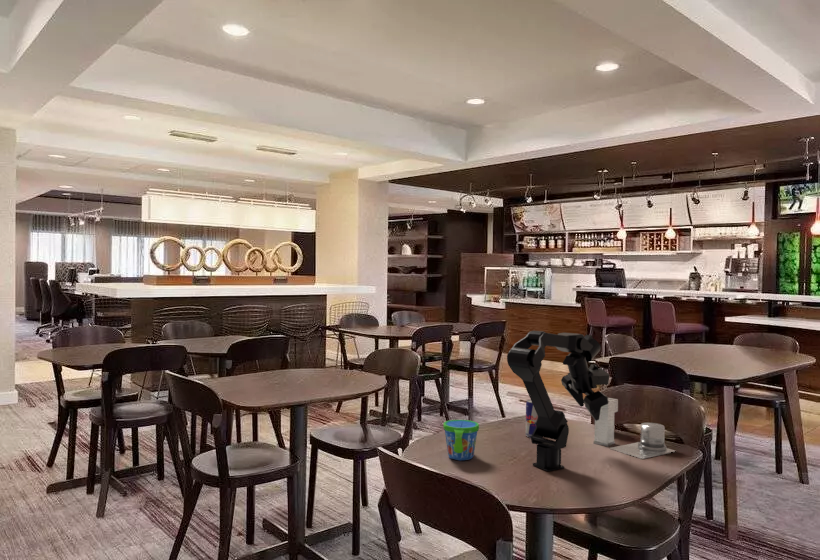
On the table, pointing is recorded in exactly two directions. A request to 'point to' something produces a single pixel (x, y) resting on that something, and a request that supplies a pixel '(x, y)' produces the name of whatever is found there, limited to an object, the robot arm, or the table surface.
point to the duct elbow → (606, 424)
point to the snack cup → (461, 438)
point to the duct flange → (647, 443)
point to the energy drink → (530, 418)
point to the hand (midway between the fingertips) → (589, 412)
